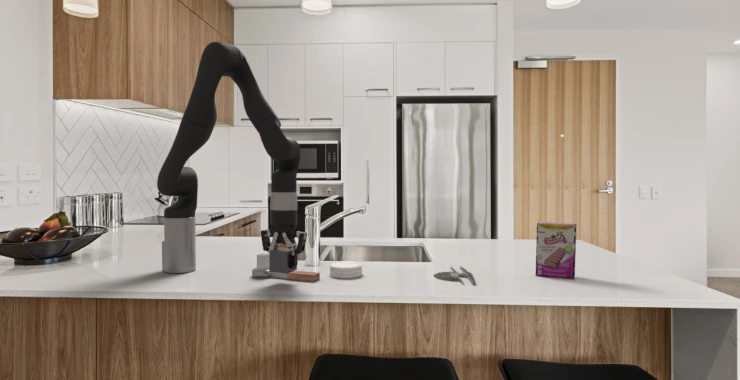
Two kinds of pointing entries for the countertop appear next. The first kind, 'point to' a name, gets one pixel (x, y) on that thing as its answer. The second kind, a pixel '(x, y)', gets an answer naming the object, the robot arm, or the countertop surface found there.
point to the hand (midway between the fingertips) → (283, 266)
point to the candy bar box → (556, 250)
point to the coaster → (345, 269)
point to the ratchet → (264, 272)
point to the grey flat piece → (455, 276)
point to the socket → (280, 261)
